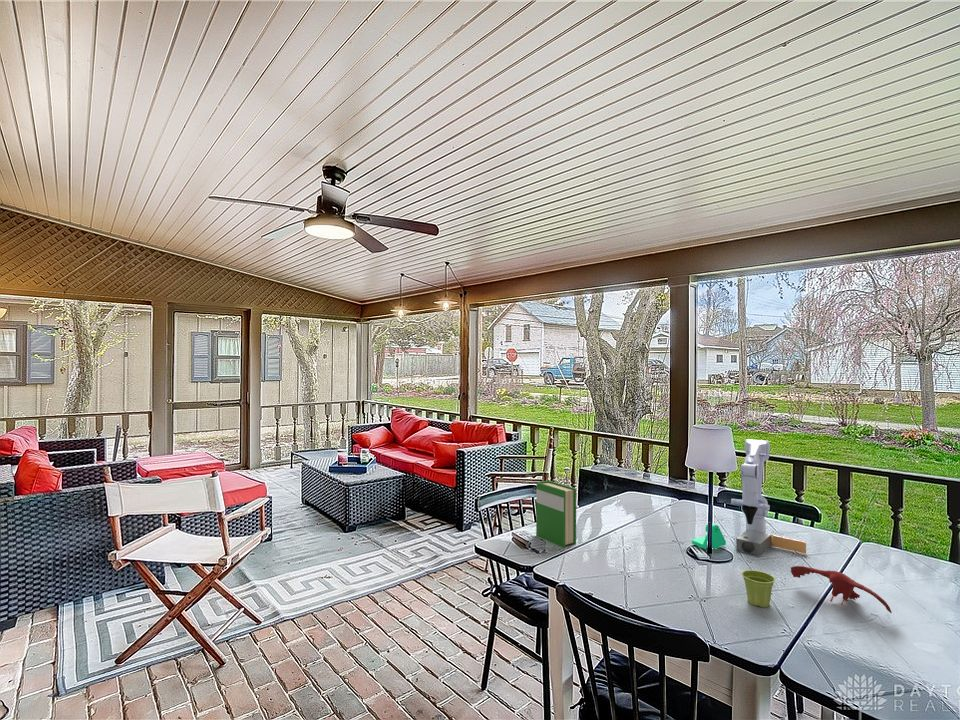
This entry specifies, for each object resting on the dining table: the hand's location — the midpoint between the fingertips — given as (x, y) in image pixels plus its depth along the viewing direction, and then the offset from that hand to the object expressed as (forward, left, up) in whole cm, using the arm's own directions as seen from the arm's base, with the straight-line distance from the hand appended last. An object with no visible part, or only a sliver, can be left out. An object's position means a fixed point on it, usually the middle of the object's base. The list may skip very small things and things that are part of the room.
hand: (750, 523), depth 205 cm
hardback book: (+54, -63, -10) cm, 84 cm away
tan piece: (-5, +13, -9) cm, 17 cm away
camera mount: (+14, -12, -10) cm, 21 cm away
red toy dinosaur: (+35, +36, -10) cm, 51 cm away
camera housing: (+2, +2, -9) cm, 10 cm away
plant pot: (+54, +17, -10) cm, 57 cm away
